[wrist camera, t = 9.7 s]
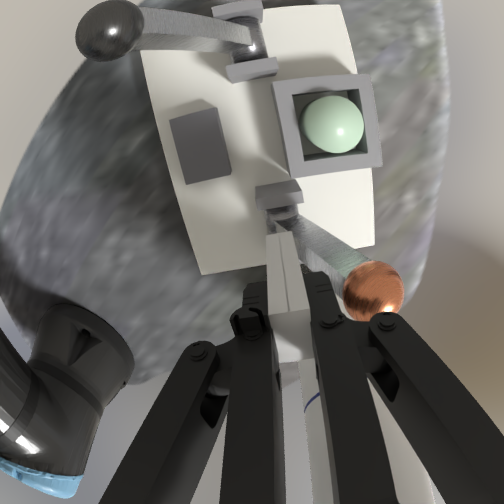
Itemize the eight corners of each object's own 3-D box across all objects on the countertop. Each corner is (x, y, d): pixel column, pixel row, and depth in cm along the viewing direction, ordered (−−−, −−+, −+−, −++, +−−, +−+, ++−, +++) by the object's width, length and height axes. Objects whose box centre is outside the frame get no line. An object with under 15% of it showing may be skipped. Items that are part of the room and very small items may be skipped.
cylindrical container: (301, 266, 26) (357, 572, 4) (366, 277, 27) (466, 523, 5) (282, 322, 29) (299, 569, 7) (341, 329, 30) (394, 546, 8)
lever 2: (263, 241, 21) (364, 350, 10) (255, 204, 20) (368, 294, 9) (296, 230, 22) (411, 322, 11) (290, 194, 21) (420, 266, 10)
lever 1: (242, 67, 16) (69, 79, 7) (233, 32, 15) (62, 22, 6) (277, 58, 15) (101, 46, 6) (268, 20, 13) (94, -17, 4)
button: (304, 150, 18) (312, 156, 16) (294, 101, 17) (301, 98, 14) (352, 144, 18) (366, 149, 15) (344, 96, 16) (358, 94, 14)
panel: (206, 260, 26) (195, 297, 21) (150, 48, 17) (120, 33, 12) (364, 232, 24) (388, 263, 19) (331, 14, 15) (352, -11, 10)
